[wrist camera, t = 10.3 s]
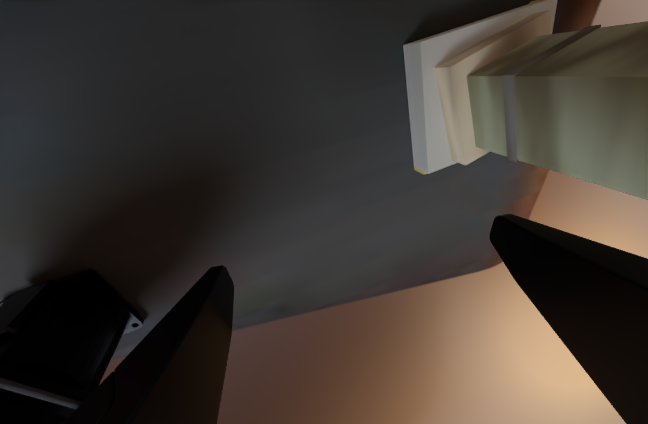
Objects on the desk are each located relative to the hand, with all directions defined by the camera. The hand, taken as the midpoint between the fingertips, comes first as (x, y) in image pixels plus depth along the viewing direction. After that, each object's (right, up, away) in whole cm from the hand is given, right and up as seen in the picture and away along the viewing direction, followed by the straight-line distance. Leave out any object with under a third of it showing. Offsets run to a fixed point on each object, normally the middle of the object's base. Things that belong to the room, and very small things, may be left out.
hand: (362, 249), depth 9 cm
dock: (+10, +11, +12) cm, 19 cm away
